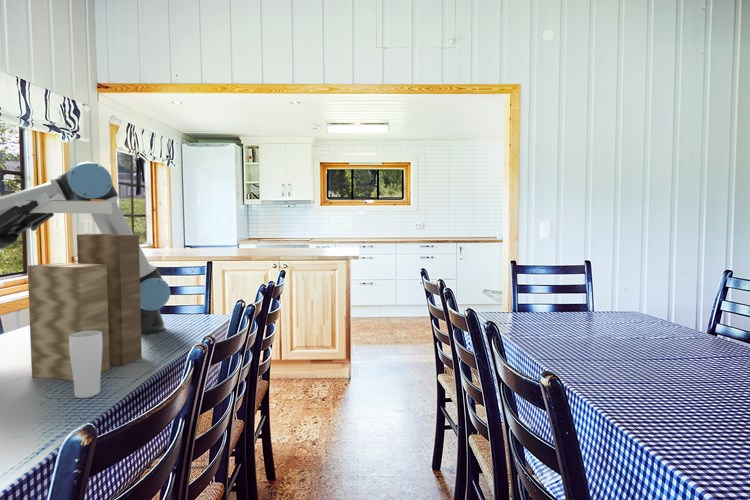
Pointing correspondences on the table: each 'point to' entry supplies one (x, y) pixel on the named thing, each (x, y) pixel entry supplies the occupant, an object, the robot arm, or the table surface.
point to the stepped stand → (86, 304)
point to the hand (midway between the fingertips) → (54, 197)
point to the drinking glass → (86, 362)
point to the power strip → (73, 206)
